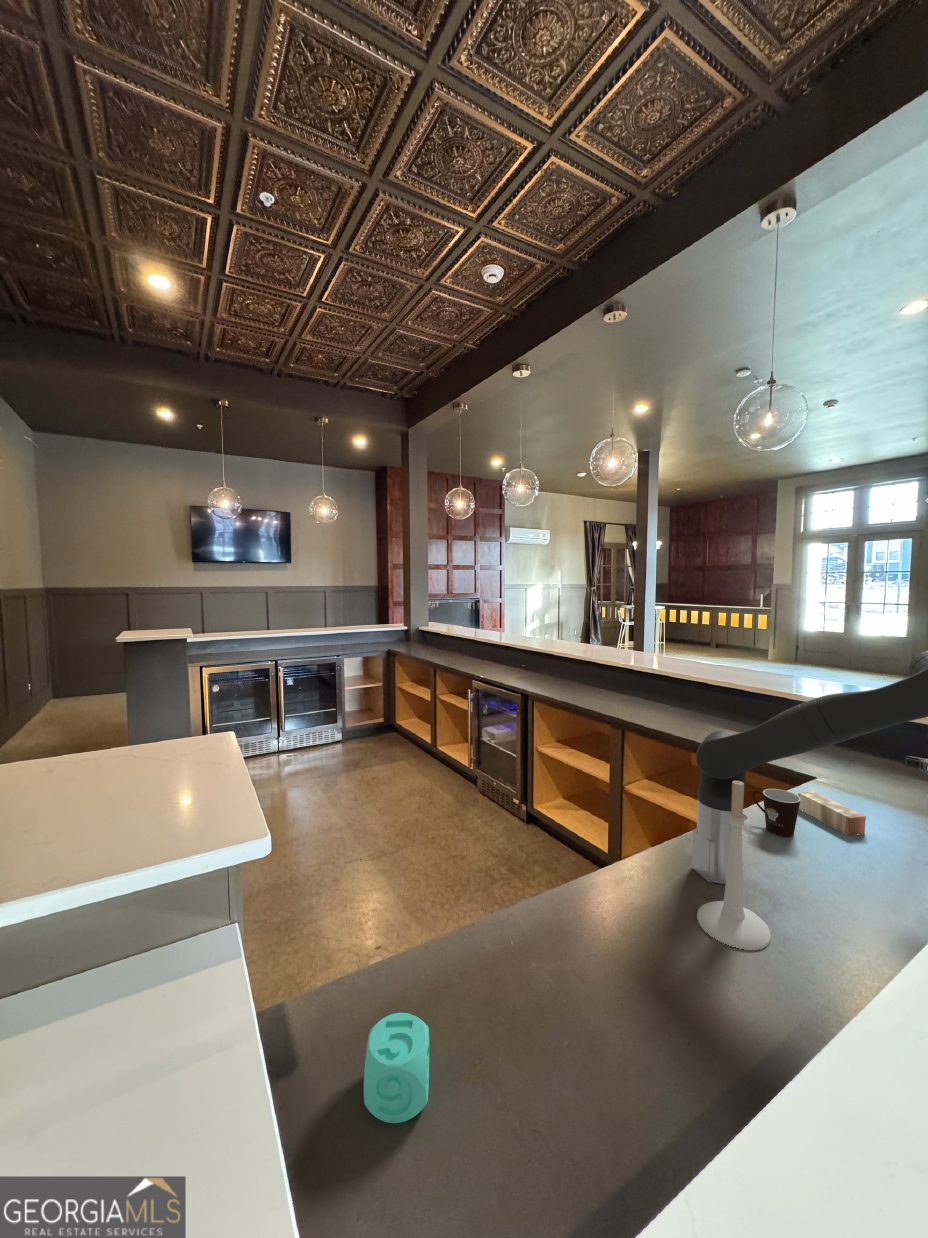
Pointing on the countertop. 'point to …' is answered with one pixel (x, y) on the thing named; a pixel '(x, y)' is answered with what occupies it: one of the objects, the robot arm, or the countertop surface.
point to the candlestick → (734, 893)
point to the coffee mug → (779, 811)
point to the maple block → (832, 813)
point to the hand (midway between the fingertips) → (906, 760)
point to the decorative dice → (397, 1068)
